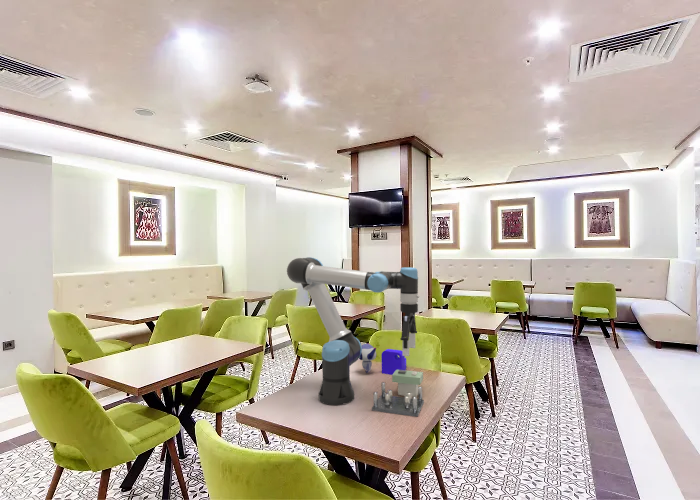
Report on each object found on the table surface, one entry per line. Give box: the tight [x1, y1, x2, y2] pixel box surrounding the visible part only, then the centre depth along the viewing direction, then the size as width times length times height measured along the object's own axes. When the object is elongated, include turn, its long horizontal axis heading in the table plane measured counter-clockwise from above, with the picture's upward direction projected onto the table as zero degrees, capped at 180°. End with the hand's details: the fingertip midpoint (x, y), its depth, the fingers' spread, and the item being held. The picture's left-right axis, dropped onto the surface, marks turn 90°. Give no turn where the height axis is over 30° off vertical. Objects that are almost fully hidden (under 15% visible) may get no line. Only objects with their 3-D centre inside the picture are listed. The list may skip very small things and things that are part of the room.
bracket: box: [381, 348, 407, 376], centre depth 196 cm, size 18×11×12 cm, turn 151°
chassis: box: [371, 381, 425, 418], centre depth 149 cm, size 18×14×7 cm
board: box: [391, 369, 424, 386], centre depth 162 cm, size 12×8×4 cm, turn 69°
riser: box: [397, 383, 419, 398], centre depth 162 cm, size 8×4×6 cm, turn 69°
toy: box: [358, 343, 377, 374], centre depth 192 cm, size 11×10×15 cm
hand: (409, 351), depth 162 cm, fingers open, 13 cm apart
